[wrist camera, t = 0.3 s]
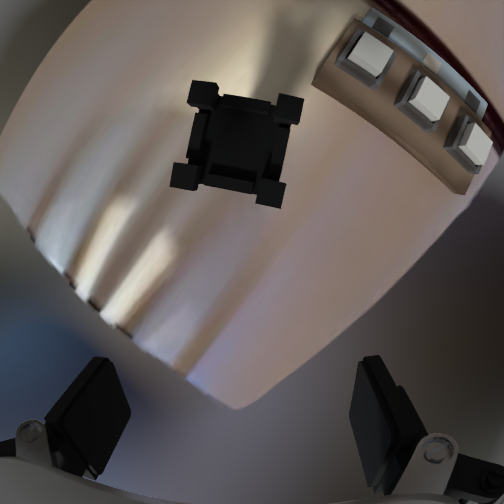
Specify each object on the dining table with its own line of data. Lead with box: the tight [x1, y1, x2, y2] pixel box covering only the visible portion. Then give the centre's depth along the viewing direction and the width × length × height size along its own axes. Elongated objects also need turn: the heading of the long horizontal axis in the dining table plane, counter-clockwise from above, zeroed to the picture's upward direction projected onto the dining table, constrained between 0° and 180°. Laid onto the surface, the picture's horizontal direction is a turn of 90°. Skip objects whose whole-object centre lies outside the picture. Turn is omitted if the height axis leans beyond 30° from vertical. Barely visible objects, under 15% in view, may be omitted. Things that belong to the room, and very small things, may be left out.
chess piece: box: [170, 80, 304, 209], centre depth 27 cm, size 8×8×20 cm
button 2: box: [347, 32, 393, 77], centre depth 27 cm, size 4×4×2 cm
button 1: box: [457, 123, 493, 165], centre depth 29 cm, size 4×4×2 cm
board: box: [311, 8, 492, 195], centre depth 30 cm, size 18×26×5 cm
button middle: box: [407, 76, 450, 122], centre depth 28 cm, size 4×4×2 cm
